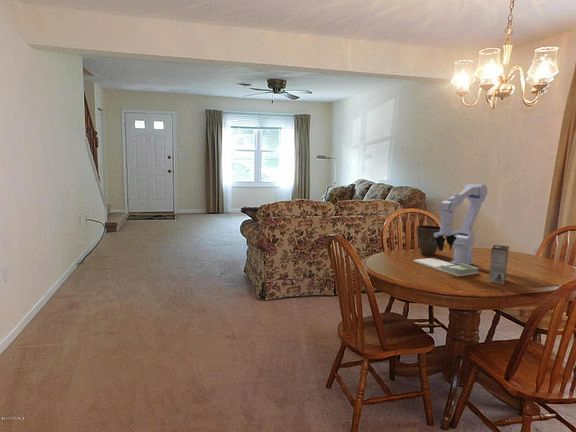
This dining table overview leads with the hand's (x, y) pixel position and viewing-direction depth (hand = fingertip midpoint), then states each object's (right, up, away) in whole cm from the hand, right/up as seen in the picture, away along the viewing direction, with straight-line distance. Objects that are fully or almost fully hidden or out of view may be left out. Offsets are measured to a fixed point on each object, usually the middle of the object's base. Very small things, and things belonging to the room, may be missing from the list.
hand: (444, 250), depth 205 cm
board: (0, -9, +1) cm, 9 cm away
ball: (0, +1, 0) cm, 2 cm away
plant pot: (+2, -5, +31) cm, 32 cm away
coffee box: (+16, -13, -21) cm, 30 cm away
